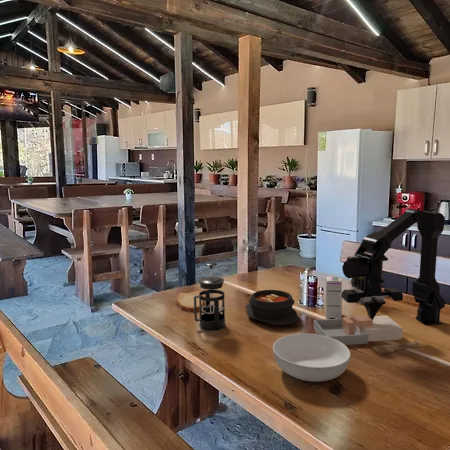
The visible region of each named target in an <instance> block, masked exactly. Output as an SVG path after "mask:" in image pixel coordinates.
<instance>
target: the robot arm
mask: <svg viewBox="0 0 450 450" xmlns="http://www.w3.org/2000/svg"><path fill="white" fill-rule="evenodd" d="M445 222H446V218H445V215H444V214H443V213H441V212H437V211H429V210H427V211H426V210H421V209H417V208H407V209H405V210H404V212H403V213H402V214H400V215H399V216H398V217H396V219H394V220H393V221H392V222H389V224H388V225H386V226H385V227H384V228H383V229H381V230H379V231H378V230H377V231H374V232H372V233H370V234H368V235H366V236H364V237H363V238H362V240H361V244H359V246H358V248H357V250H356V252H355V253H354V256H347V257H346V260H345V261H344V262H343V265H342V268H341V269H342V273H343V276H344V277H345V278H346V279H350V283H351V287H352V289H344V290H343V289H342V300H344V301H345V302H346V303H348V304H359V303H358V302H359V301H361V302H362V303H363V305H364V308H365V310H366V312H367V316H368V317H369V318H371V319H372V320H373V319H374V317H375V316H377V315H378V314H377V313H379V311H380V309H381V308H382V306H383V305H385V304H386V303H387V302H386V301H385V298H391V299H392V301H394V302H402V301H403V300H404V294H403V292H402V291H401V290H399V289H397V288H396V287H385V288H384V289H383V291H382V286H383V285H382V284H383V283H384V282H385V279H383V270H384V269H383V268H384V267H383V265H384V263H383V262H387V261H388V260H389V258H388V257H387V256H386V255H385V254H386V253H387V252H388V251H389V249H390V248H391V247H392V243H393V242H394V241H395V240H396V239H397V238H398V237H400V236H401V235H402V234H404V233H405V232H406V231H407V230H408V229H410V228H411V227H412V226H414V225H415V224H417V225H416V226H417V227H416V228H417V230H418V232H419V234H420V236H421V241H420V242H421V243H420V245H421V246H420V259H419V261H420V263H419V277H418V278H417V279H416V280H415V281H414V280H413V281H412V283H411V284H412V288H411V293H412V295H413V297H414V301H415V303H418V307H417V310H416V316H415V319H416V320H418V321H419V322H421V324H423V325H426V326H427V325H429V326H431V325H442V324H443V322H442V321H441V320H440V317H441V310H443V309H444V308H445V306H446V303H447V302H446V300H445V298H444V297H442V295H441V291H440V290H441V289H440V284H439V283H438V281H437V279H436V269H437V257H438V256H437V255H438V254H437V253H438V240H439V237H440V236H441V234H442V233H443V232H444V229H445ZM358 277H362V279H361V280H359V278H358ZM384 284H385V283H384ZM353 287H357V289H360V290H361V291H363V292H359V293H358V292H356V291H355V290H354V289H353Z"/></svg>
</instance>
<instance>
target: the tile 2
mask: <svg viewBox="0 0 450 450" xmlns="http://www.w3.org/2000/svg"><path fill="white" fill-rule="evenodd" d="M350 318H351V320H352V321H353V322H354V324H355V325H356V326H358V327H366V326H373V320H372V319H371V318H369V317H368V315H366V314H358V315H357V314H355V315H351V316H350Z"/></svg>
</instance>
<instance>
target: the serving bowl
mask: <svg viewBox="0 0 450 450" xmlns="http://www.w3.org/2000/svg"><path fill="white" fill-rule="evenodd" d="M272 351H273V352H272V353H273V357H274V360H275V362H276V364H277V366H278V367H279V368H280V369H281V370H282V371H283V372H284V373H286V374H288V375H289V376H291V377H293V378H295V379H298V380H301V381H307V382H326V381H330V380H333V379H336V378H338V377H339V376H341V375H342V374H344V372H345V371H346V370H347V368H348V366H349V363H350V360H351V357H352V356H351V351H350V349H349V348H348V347H347V345H344V344H343V343H341V342H339V341H337V340H335V339H333V338H330V337H327V336H323V335H318V333H317V334H316V333H292V334H287V335H284V336H282V337H280V338H278V339H277V340H275V341H274V343H273V345H272Z"/></svg>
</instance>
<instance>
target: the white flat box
mask: <svg viewBox="0 0 450 450" xmlns="http://www.w3.org/2000/svg"><path fill="white" fill-rule="evenodd" d="M354 329H355V330H356V331H357V332H358V333H359V334H368V342H380V341H381V342H384V341H386V340H387V341H398V340H397V339H402V340H403V327H402V326H401V325H400V324H398V323H397V322H396V321H395V320H393V319H392V318H391V317H389V316H388V315H386V314H385V315H375V317H374V319H373V326H366V327H358V326H356V325H355V324H354ZM395 339H396V340H395Z"/></svg>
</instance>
